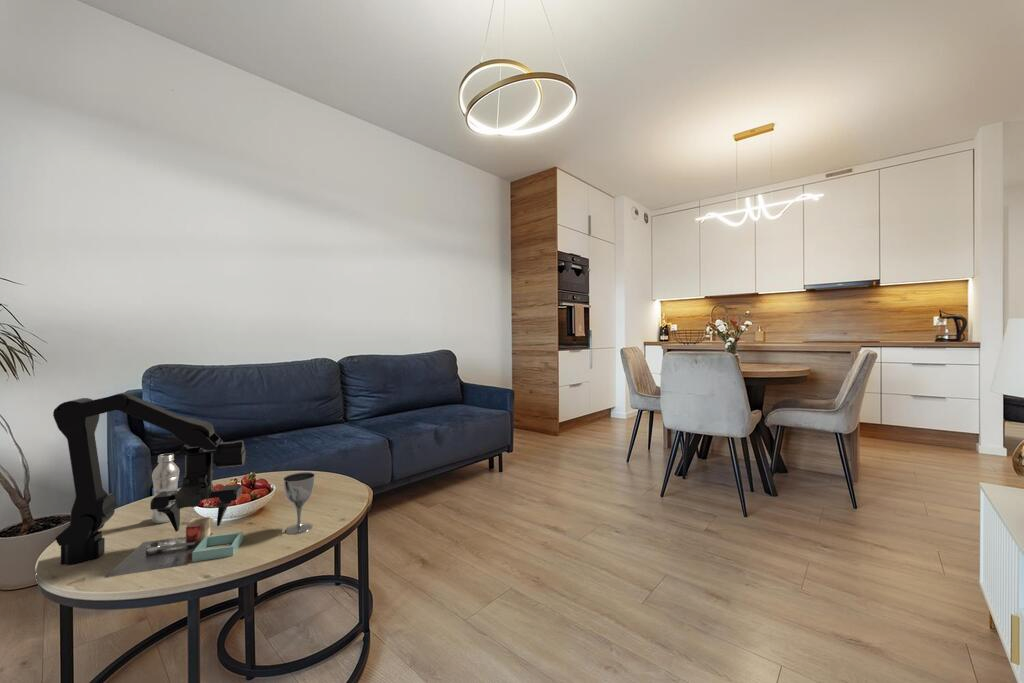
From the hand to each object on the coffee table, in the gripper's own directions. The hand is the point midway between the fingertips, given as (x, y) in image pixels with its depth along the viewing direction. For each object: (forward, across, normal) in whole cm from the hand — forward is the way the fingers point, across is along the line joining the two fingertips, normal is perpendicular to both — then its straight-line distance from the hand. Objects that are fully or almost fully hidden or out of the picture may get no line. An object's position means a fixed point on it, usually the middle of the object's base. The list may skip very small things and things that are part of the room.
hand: (198, 528), depth 108 cm
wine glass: (+4, +24, 0) cm, 24 cm away
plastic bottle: (+4, -14, +18) cm, 23 cm away
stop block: (+3, 0, 0) cm, 3 cm away
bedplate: (+4, -5, -6) cm, 9 cm away
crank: (+3, -4, -4) cm, 6 cm away
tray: (+4, +7, -8) cm, 12 cm away
